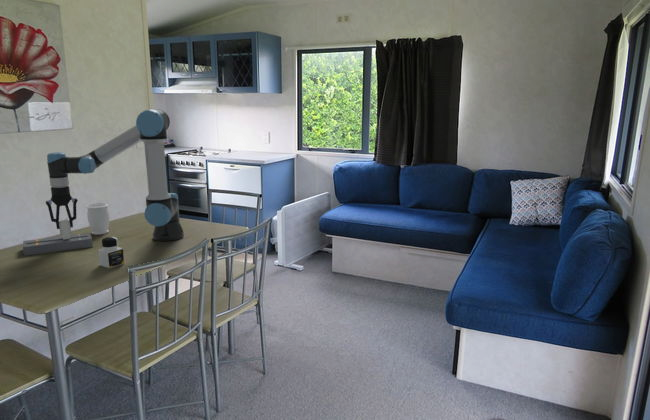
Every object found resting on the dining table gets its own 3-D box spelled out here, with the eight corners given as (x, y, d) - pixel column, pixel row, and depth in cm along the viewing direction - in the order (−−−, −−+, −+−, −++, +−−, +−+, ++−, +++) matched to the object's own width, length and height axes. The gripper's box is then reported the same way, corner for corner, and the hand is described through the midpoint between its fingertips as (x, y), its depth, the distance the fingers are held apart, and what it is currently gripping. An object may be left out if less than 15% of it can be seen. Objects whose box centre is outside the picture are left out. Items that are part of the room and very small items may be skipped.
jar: (102, 236, 243) (99, 207, 239) (84, 234, 245) (81, 206, 241) (115, 230, 253) (112, 203, 249) (98, 229, 255) (95, 202, 251)
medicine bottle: (109, 268, 197) (106, 241, 194) (99, 265, 200) (96, 238, 198) (124, 263, 203) (122, 237, 200) (114, 260, 206) (111, 234, 204)
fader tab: (69, 240, 227) (67, 217, 225) (70, 243, 222) (67, 220, 220) (62, 241, 226) (60, 218, 223) (63, 244, 221) (60, 221, 218)
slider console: (90, 240, 235) (89, 232, 234) (92, 246, 225) (91, 238, 224) (24, 249, 221) (23, 240, 220) (23, 255, 211) (22, 246, 210)
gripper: (78, 183, 225) (84, 230, 230) (39, 186, 217) (46, 235, 222) (79, 186, 219) (85, 234, 224) (39, 189, 211) (46, 239, 216)
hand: (65, 234), depth 223 cm, fingers closed on fader tab, 3 cm apart
